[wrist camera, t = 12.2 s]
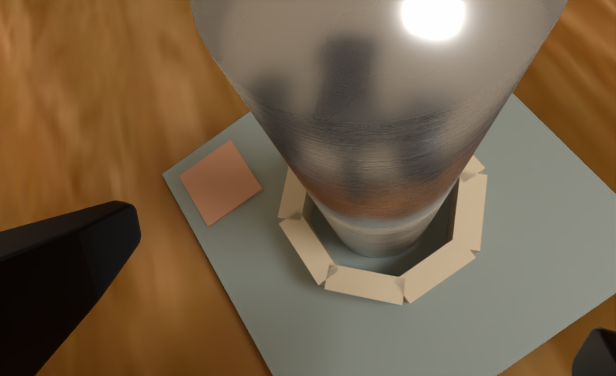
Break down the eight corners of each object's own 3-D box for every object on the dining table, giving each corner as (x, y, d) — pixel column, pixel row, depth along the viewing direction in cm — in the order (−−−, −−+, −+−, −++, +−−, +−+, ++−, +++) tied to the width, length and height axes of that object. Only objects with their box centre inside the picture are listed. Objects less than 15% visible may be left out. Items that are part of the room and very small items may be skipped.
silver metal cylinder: (405, 275, 17) (491, 189, 4) (314, 232, 18) (125, 49, 5) (444, 184, 18) (637, -168, 4) (354, 149, 19) (287, -212, 5)
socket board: (337, 478, 16) (327, 515, 13) (169, 178, 21) (138, 161, 19) (661, 254, 16) (715, 245, 13) (412, 6, 21) (416, -35, 18)
